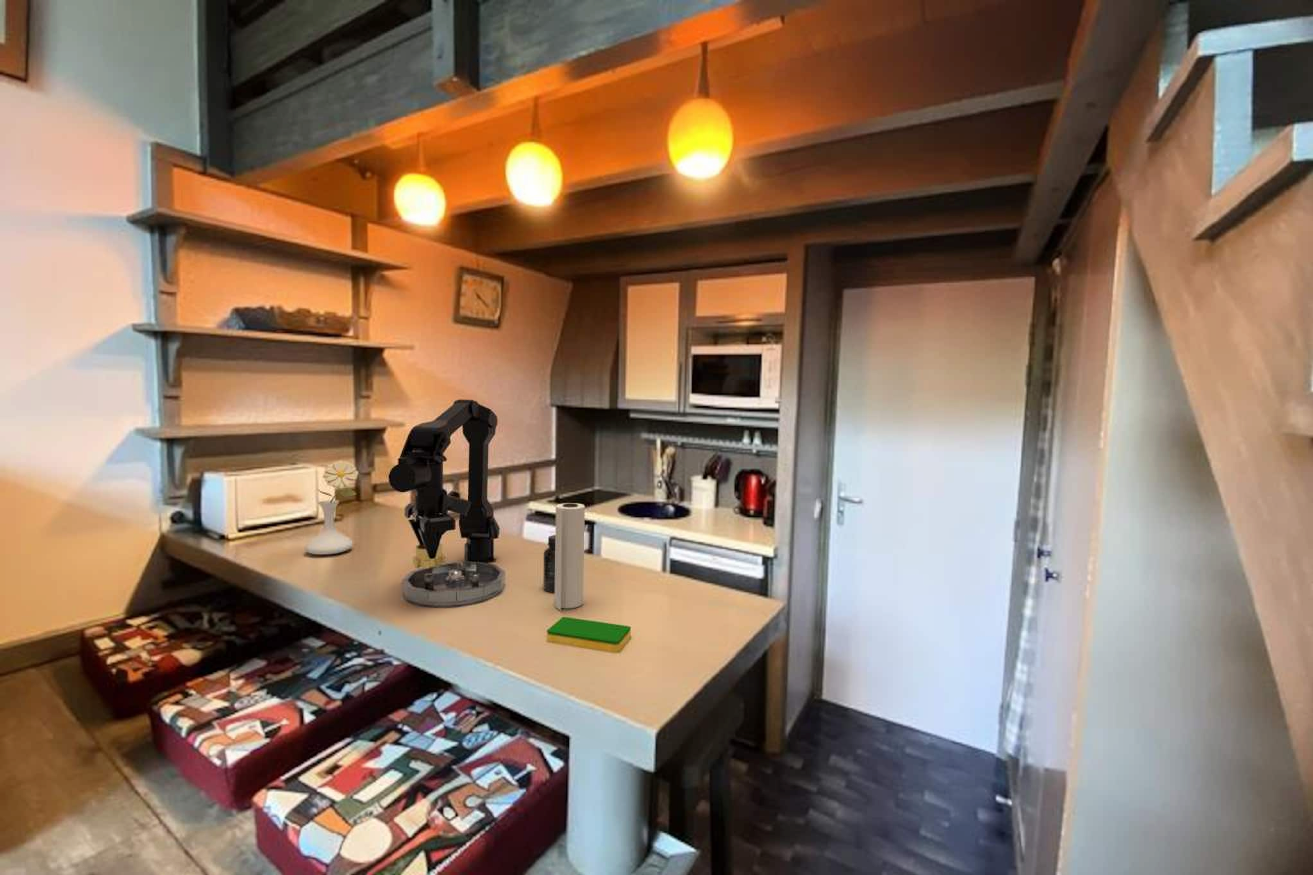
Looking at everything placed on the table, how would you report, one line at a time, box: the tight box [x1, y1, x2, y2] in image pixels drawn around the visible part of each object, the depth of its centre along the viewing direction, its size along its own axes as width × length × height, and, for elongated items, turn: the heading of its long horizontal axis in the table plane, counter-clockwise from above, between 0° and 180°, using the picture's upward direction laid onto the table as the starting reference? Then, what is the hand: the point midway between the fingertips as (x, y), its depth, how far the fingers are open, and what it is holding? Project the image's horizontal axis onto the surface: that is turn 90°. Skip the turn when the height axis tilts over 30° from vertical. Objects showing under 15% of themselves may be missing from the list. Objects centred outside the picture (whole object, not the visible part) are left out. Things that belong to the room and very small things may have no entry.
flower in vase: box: [304, 460, 359, 556], centre depth 150 cm, size 13×11×25 cm
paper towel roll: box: [553, 502, 586, 613], centre depth 118 cm, size 7×6×21 cm
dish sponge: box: [546, 616, 632, 654], centre depth 102 cm, size 7×14×2 cm, turn 74°
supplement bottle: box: [542, 534, 556, 594], centre depth 128 cm, size 7×7×12 cm
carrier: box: [401, 561, 506, 608], centre depth 125 cm, size 21×21×4 cm
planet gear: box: [412, 542, 446, 569], centre depth 122 cm, size 6×6×4 cm
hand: (429, 555), depth 122 cm, fingers closed on planet gear, 5 cm apart
